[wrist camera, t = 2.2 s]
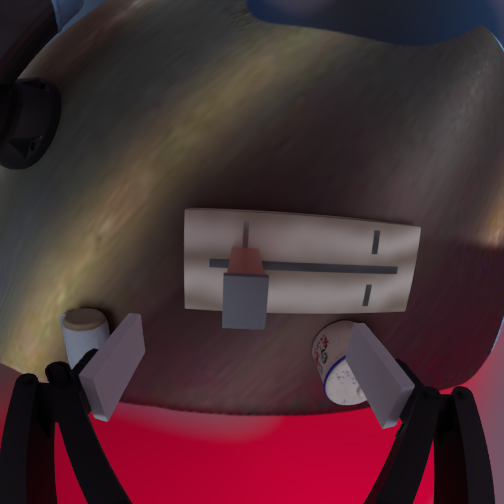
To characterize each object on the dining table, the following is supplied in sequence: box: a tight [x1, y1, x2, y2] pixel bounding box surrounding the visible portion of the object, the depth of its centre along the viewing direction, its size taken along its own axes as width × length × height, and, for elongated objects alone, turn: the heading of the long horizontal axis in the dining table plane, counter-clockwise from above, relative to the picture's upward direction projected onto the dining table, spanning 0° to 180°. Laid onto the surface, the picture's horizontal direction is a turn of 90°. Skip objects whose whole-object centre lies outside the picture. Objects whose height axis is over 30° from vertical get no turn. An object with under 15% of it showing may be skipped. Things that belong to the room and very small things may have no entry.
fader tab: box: [222, 248, 269, 330], centre depth 26 cm, size 4×3×11 cm
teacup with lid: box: [312, 320, 367, 405], centre depth 33 cm, size 12×9×12 cm
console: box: [184, 208, 421, 314], centre depth 34 cm, size 12×30×3 cm, turn 87°
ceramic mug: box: [60, 308, 110, 369], centre depth 33 cm, size 11×8×8 cm
